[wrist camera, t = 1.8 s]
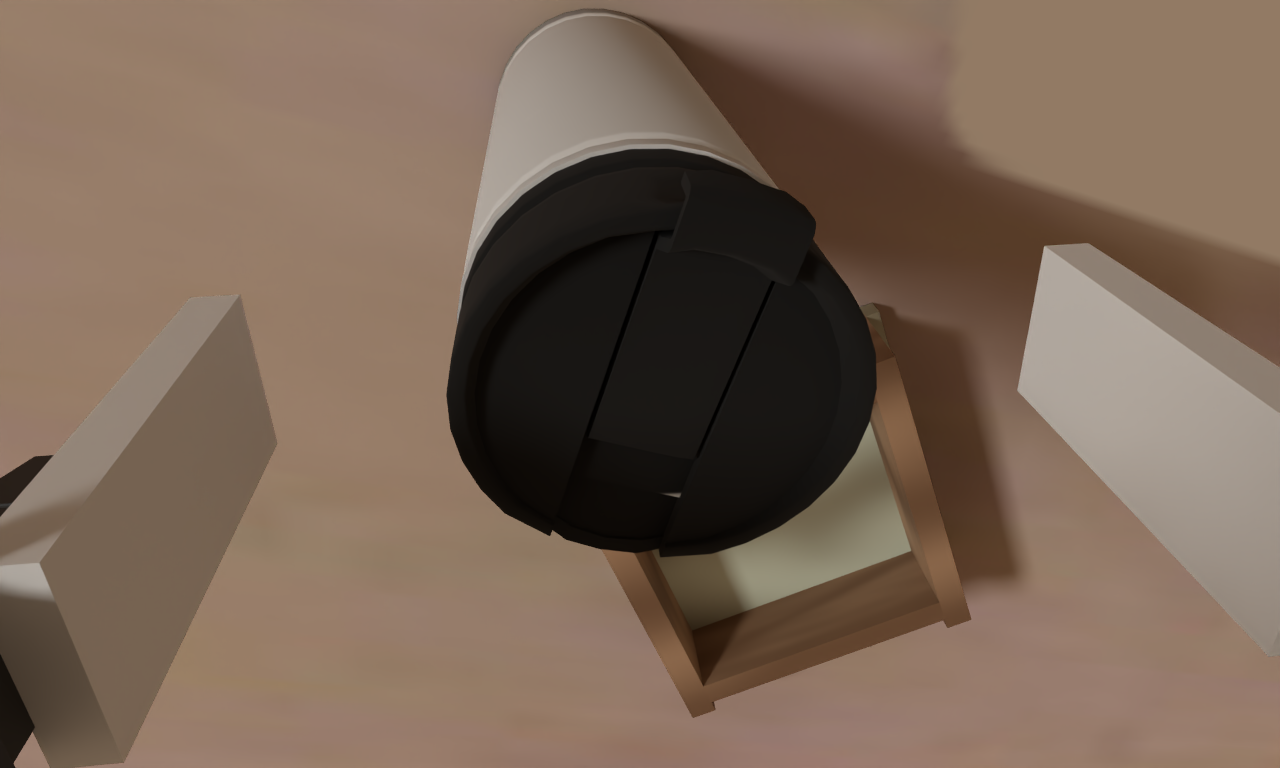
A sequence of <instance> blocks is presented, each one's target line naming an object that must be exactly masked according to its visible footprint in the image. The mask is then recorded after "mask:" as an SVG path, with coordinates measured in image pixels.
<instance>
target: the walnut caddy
mask: <svg viewBox="0 0 1280 768" xmlns="http://www.w3.org/2000/svg"><path fill="white" fill-rule="evenodd" d="M860 309H861V311H862V312H863V314H864V316H865V318H866V319H867V323H868V327H869V330H870V334H871V337H872V341H873V344H874V348H875V352H876V372H877V390H876V395H875V400H874V404H873V409H872V414H871V418H870V422H869V425H868V427H867V429H866V431H865V433H864V436H863V438H862V440H861V442H860V444H859V447H858V449H857V451H856V453H855V455H854V456H853V457H852V459H851V460H850V462H849V463H848V464H847V466H846V467H845V469H844V470H843V471H842V473H841V474H840V475H839V477H838V478H837V480H836V481H835V482H834V483H833V484H832V485H831V486H830V487H829V488H828V489H827V490H826V491H825V492H824V493H823V494H822V495H821V496H820V497H819V498H818V499H817V500H816V501H815V502H813V503H812V504H811V505H810V506H809V507H808V508H807V509H805V510H804V511H802V512H801V513H799V514H798V515H796V516H795V517H793V518H792V519H790V520H789V521H788V522H786V523H785V524H783V525H782V526H780V527H779V528H777V529H775V530H772V531H770V532H768V533H766V534H764V535H762V536H760V537H758V538H756V539H754V540H752V541H750V542H748V543H745V544H742V545H739V546H736V547H732V548H729V549H726V550H723V551H720V552H717V553H713V554H706V555H691V556H675V557H660V555H659V549H656V550H651V551H646V552H641V553H630V552H621V551H612V550H603V549H602V551H603V553H604V555H605V556H606V558H607V560H608V562H609V564H610V566H611V567H612V569H613V571H614V573H615V575H616V577H617V579H618V580H619V582H620V584H621V586H622V588H623V590H624V591H625V593H626V595H627V597H628V599H629V601H630V603H631V604H632V606H633V608H634V610H635V612H636V614H637V615H638V617H639V619H640V621H641V623H642V625H643V627H644V628H645V630H646V632H647V634H648V636H649V638H650V640H651V641H652V643H653V645H654V647H655V649H656V651H657V652H658V654H659V656H660V658H661V660H662V662H663V664H664V665H665V667H666V669H667V671H668V673H669V675H670V676H671V678H672V680H673V682H674V684H675V686H676V688H677V689H678V691H679V693H680V695H681V697H682V699H683V700H684V702H685V704H686V706H687V708H688V710H689V712H690V713H691V715H692V717H693V718H694V717H697V716H700V715H703V714H705V713H708V712H711V711H714V710H715V705H714V701H717V700H719V699H722V698H725V697H728V696H731V695H733V694H736V693H739V692H742V691H745V690H748V689H750V688H753V687H756V686H759V685H762V684H765V683H767V682H770V681H773V680H776V679H779V678H781V677H784V676H787V675H790V674H793V673H796V672H798V671H801V670H804V669H807V668H810V667H812V666H815V665H818V664H821V663H824V662H827V661H829V660H832V659H835V658H838V657H841V656H844V655H846V654H849V653H852V652H855V651H858V650H860V649H863V648H866V647H869V646H872V645H875V644H877V643H880V642H883V641H886V640H889V639H892V638H894V637H897V636H900V635H903V634H906V633H908V632H911V631H914V630H917V629H920V628H923V627H925V626H928V625H931V624H934V623H937V622H940V621H942V620H943V621H944V623H945V624H946V626H947V628H949V627H952V626H955V625H957V624H960V623H963V622H966V621H969V620H971V617H970V613H969V610H968V606H967V603H966V599H965V596H964V592H963V589H962V585H961V582H960V579H959V575H958V572H957V568H956V565H955V561H954V558H953V554H952V551H951V547H950V544H949V541H948V537H947V534H946V530H945V527H944V523H943V520H942V516H941V513H940V509H939V506H938V503H937V499H936V496H935V492H934V489H933V485H932V482H931V478H930V475H929V471H928V468H927V465H926V461H925V458H924V454H923V451H922V447H921V444H920V440H919V437H918V433H917V430H916V427H915V423H914V420H913V416H912V413H911V409H910V406H909V402H908V399H907V395H906V392H905V389H904V385H903V382H902V378H901V375H900V371H899V368H898V364H897V361H896V357H895V355H894V354H893V353H892V351H891V350H890V348H889V344H888V341H887V338H886V334H885V331H884V327H883V324H882V320H881V317H880V314H879V311H878V310H877V308H876V307H875V306H874V305H873V303H870V304H867V305H865V306H862V307H860Z"/></svg>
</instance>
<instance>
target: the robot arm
mask: <svg viewBox="0 0 1280 768" xmlns="http://www.w3.org/2000/svg"><path fill="white" fill-rule="evenodd" d="M1017 391H1018V392H1019V393H1020V394H1021V395H1022V396H1023V397H1024V398H1025V399H1026V400H1027V401H1028V402H1029V403H1030V404H1031V405H1032V407H1033V408H1034V409H1035V410H1036V411H1037V412H1038V413H1039V414H1040V415H1041V416H1042V417H1043V418H1044V419H1045V420H1046V421H1047V422H1048V423H1049V425H1050V426H1051V427H1052V428H1053V429H1054V430H1055V431H1056V432H1057V433H1058V434H1059V435H1060V436H1061V437H1062V438H1063V439H1064V440H1065V441H1066V443H1067V444H1068V445H1069V446H1070V447H1071V448H1072V449H1073V450H1074V451H1075V452H1076V453H1077V454H1078V455H1079V456H1080V457H1081V458H1082V459H1083V461H1084V462H1085V463H1086V464H1087V465H1088V466H1089V467H1090V468H1091V469H1092V470H1093V471H1094V472H1095V473H1096V474H1097V475H1098V476H1099V477H1100V479H1101V480H1102V481H1103V482H1104V483H1105V484H1106V485H1107V486H1108V487H1109V488H1110V489H1111V490H1112V491H1113V492H1114V493H1115V494H1116V495H1117V497H1118V498H1119V499H1120V500H1121V501H1122V502H1123V503H1124V504H1125V505H1126V506H1127V507H1128V508H1129V509H1130V510H1131V511H1132V512H1133V513H1134V515H1135V516H1136V517H1137V518H1138V519H1139V520H1140V521H1141V522H1142V523H1143V524H1144V525H1145V526H1146V527H1147V528H1148V529H1149V530H1150V531H1151V533H1152V534H1153V535H1154V536H1155V537H1156V538H1157V539H1158V540H1159V541H1160V542H1161V543H1162V544H1163V545H1164V546H1165V547H1166V548H1167V549H1168V551H1169V552H1170V553H1171V554H1172V555H1173V556H1174V557H1175V558H1176V559H1177V560H1178V561H1179V562H1180V563H1181V564H1182V565H1183V566H1184V567H1185V569H1186V570H1187V571H1188V572H1189V573H1190V574H1191V575H1192V576H1193V577H1194V578H1195V579H1196V580H1197V581H1198V582H1199V583H1200V584H1201V585H1202V586H1203V588H1204V589H1205V590H1206V591H1207V592H1208V593H1209V594H1210V595H1211V596H1212V597H1213V598H1214V599H1215V600H1216V601H1217V602H1218V603H1219V604H1220V606H1221V607H1222V608H1223V609H1224V610H1225V611H1226V612H1227V613H1228V614H1229V615H1230V616H1231V617H1232V618H1233V619H1234V620H1235V621H1236V622H1237V624H1238V625H1239V626H1240V627H1241V628H1242V629H1243V630H1244V631H1245V632H1246V633H1247V634H1248V635H1249V636H1250V637H1251V638H1252V639H1253V640H1254V642H1255V643H1256V644H1257V645H1258V646H1259V647H1260V648H1261V649H1262V650H1263V651H1264V652H1265V653H1266V654H1267V655H1268V656H1269V657H1270V656H1280V367H1278V366H1277V365H1275V364H1274V363H1272V362H1271V361H1269V360H1267V359H1266V358H1264V357H1263V356H1261V355H1260V354H1258V353H1257V352H1255V351H1254V350H1252V349H1251V348H1249V347H1247V346H1246V345H1244V344H1243V343H1241V342H1240V341H1238V340H1237V339H1235V338H1234V337H1232V336H1231V335H1229V334H1227V333H1226V332H1224V331H1223V330H1221V329H1220V328H1218V327H1217V326H1215V325H1214V324H1212V323H1211V322H1209V321H1207V320H1206V319H1204V318H1203V317H1201V316H1200V315H1198V314H1197V313H1195V312H1194V311H1192V310H1191V309H1189V308H1187V307H1186V306H1184V305H1183V304H1181V303H1180V302H1178V301H1177V300H1175V299H1174V298H1172V297H1171V296H1169V295H1167V294H1166V293H1164V292H1163V291H1161V290H1160V289H1158V288H1157V287H1155V286H1154V285H1152V284H1151V283H1149V282H1147V281H1146V280H1144V279H1143V278H1141V277H1140V276H1138V275H1137V274H1135V273H1134V272H1132V271H1131V270H1129V269H1127V268H1126V267H1124V266H1123V265H1121V264H1120V263H1118V262H1117V261H1115V260H1114V259H1112V258H1111V257H1109V256H1107V255H1106V254H1104V253H1103V252H1101V251H1100V250H1098V249H1097V248H1095V247H1094V246H1092V245H1091V244H1089V243H1083V244H1066V245H1049V246H1044V250H1043V256H1042V261H1041V266H1040V272H1039V277H1038V282H1037V288H1036V293H1035V299H1034V304H1033V309H1032V315H1031V320H1030V325H1029V331H1028V336H1027V342H1026V347H1025V352H1024V358H1023V363H1022V369H1021V374H1020V379H1019V385H1018V390H1017ZM276 445H277V439H276V435H275V431H274V427H273V423H272V419H271V415H270V411H269V407H268V403H267V399H266V395H265V392H264V388H263V384H262V380H261V376H260V372H259V368H258V364H257V360H256V356H255V352H254V348H253V344H252V340H251V336H250V332H249V328H248V324H247V320H246V316H245V312H244V308H243V304H242V300H241V296H240V295H224V296H207V297H191V298H189V300H188V301H187V302H186V303H185V304H184V305H183V307H182V308H181V309H180V310H179V311H178V312H177V313H176V315H175V316H174V317H173V318H172V319H171V320H170V322H169V323H168V324H167V325H166V326H165V327H164V328H163V330H162V331H161V332H160V333H159V334H158V335H157V337H156V338H155V339H154V340H153V341H152V342H151V343H150V345H149V346H148V347H147V348H146V349H145V350H144V352H143V353H142V354H141V355H140V356H139V357H138V358H137V360H136V361H135V362H134V363H133V364H132V365H131V367H130V368H129V369H128V370H127V371H126V372H125V374H124V375H123V376H122V377H121V378H120V379H119V380H118V382H117V383H116V384H115V385H114V386H113V387H112V389H111V390H110V391H109V392H108V393H107V394H106V395H105V397H104V398H103V399H102V400H101V401H100V402H99V404H98V405H97V406H96V407H95V408H94V409H93V410H92V412H91V413H90V414H89V415H88V416H87V417H86V419H85V420H84V421H83V422H82V423H81V424H80V425H79V427H78V428H77V429H76V430H75V431H74V432H73V434H72V435H71V436H70V437H69V438H68V439H67V441H66V442H65V443H64V444H63V445H62V446H61V447H60V449H59V450H58V451H57V452H56V453H55V454H54V455H49V456H35V457H33V458H32V459H30V460H28V461H27V462H25V463H24V464H22V465H21V466H19V467H17V468H16V469H14V470H13V471H11V472H9V473H8V474H6V475H5V476H3V477H2V478H0V768H15V766H14V764H13V763H14V761H15V760H16V758H17V756H18V755H19V753H20V751H21V750H22V748H23V746H24V745H25V743H26V741H27V740H28V738H29V737H30V735H31V733H32V732H33V733H34V735H35V737H36V739H37V741H38V743H39V746H40V748H41V750H42V752H43V754H44V756H45V758H46V760H47V762H48V764H49V766H50V768H72V767H83V766H93V765H104V764H115V763H124V761H125V759H126V757H127V755H128V753H129V751H130V749H131V747H132V745H133V743H134V741H135V739H136V736H137V734H138V732H139V730H140V728H141V726H142V724H143V722H144V720H145V718H146V716H147V714H148V712H149V709H150V707H151V705H152V703H153V701H154V699H155V697H156V695H157V693H158V691H159V689H160V687H161V684H162V682H163V680H164V678H165V676H166V674H167V672H168V670H169V668H170V666H171V664H172V662H173V660H174V657H175V655H176V653H177V651H178V649H179V647H180V645H181V643H182V641H183V639H184V637H185V635H186V632H187V630H188V628H189V626H190V624H191V622H192V620H193V618H194V616H195V614H196V612H197V610H198V607H199V605H200V603H201V601H202V599H203V597H204V595H205V593H206V591H207V589H208V587H209V585H210V583H211V580H212V578H213V576H214V574H215V572H216V570H217V568H218V566H219V564H220V562H221V560H222V558H223V555H224V553H225V551H226V549H227V547H228V545H229V543H230V541H231V539H232V537H233V535H234V533H235V531H236V528H237V526H238V524H239V522H240V520H241V518H242V516H243V514H244V512H245V510H246V508H247V506H248V503H249V501H250V499H251V497H252V495H253V493H254V491H255V489H256V487H257V485H258V483H259V481H260V479H261V476H262V474H263V472H264V470H265V468H266V466H267V464H268V462H269V460H270V458H271V456H272V454H273V451H274V449H275V447H276Z"/></svg>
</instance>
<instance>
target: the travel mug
mask: <svg viewBox="0 0 1280 768" xmlns="http://www.w3.org/2000/svg"><path fill="white" fill-rule="evenodd" d="M815 229H816V222H815V219H814V218H813V216H812V215H811V214H810V212H809V211H808V210H807V208H806V207H805V206H804V205H802V204H801V203H800V202H799V201H797V200H796V199H795V198H793V197H792V196H791V195H789V194H788V193H787V192H785V191H782V190H779V188H778V187H777V186H776V184H775V183H774V182H773V181H772V179H771V178H770V177H769V175H768V174H767V173H766V171H765V170H764V169H763V167H762V166H761V165H760V163H759V162H758V161H757V160H756V158H755V157H754V156H753V154H752V153H751V152H750V150H749V149H748V148H747V146H746V145H745V144H744V142H743V141H742V140H741V139H740V137H739V136H738V135H737V133H736V132H735V131H734V129H733V128H732V127H731V125H730V124H729V123H728V121H727V120H726V119H725V118H724V116H723V115H722V114H721V112H720V111H719V110H718V108H717V107H716V106H715V104H714V103H713V102H712V100H711V99H710V98H709V97H708V95H707V94H706V93H705V91H704V90H703V89H702V87H701V86H700V85H699V83H698V82H697V81H696V79H695V78H694V77H693V76H692V74H691V73H690V72H689V70H688V69H687V68H686V66H685V65H684V64H683V62H682V61H681V60H680V58H679V57H678V56H677V55H676V53H675V52H674V51H673V49H672V48H671V47H670V46H669V45H668V44H667V42H666V41H665V40H664V39H663V38H662V37H661V36H660V35H659V34H658V33H657V32H656V31H654V30H653V29H652V28H650V27H649V26H648V25H646V24H645V23H643V22H642V21H640V20H638V19H636V18H633V17H631V16H629V15H627V14H625V13H621V12H616V11H612V10H607V9H580V10H576V11H571V12H566V13H563V14H561V15H558V16H556V17H554V18H552V19H549V20H547V21H545V22H544V23H543V24H541V25H540V26H538V27H537V28H536V29H534V30H533V31H531V32H530V33H529V34H528V35H527V36H526V37H525V39H524V40H523V41H522V42H521V43H520V44H519V45H518V46H517V47H516V49H515V51H514V52H513V54H512V56H511V57H510V59H509V61H508V62H507V64H506V67H505V70H504V72H503V75H502V78H501V81H500V84H499V90H498V95H497V100H496V105H495V110H494V116H493V121H492V126H491V131H490V137H489V142H488V147H487V152H486V157H485V163H484V168H483V173H482V178H481V184H480V189H479V194H478V199H477V204H476V210H475V215H474V220H473V225H472V230H471V236H470V241H469V246H468V251H467V257H466V262H465V268H464V274H463V277H462V283H461V290H460V297H459V305H458V312H457V330H456V335H455V341H454V346H453V352H452V357H451V364H450V371H449V379H448V387H447V394H446V395H447V404H448V412H449V421H450V429H451V432H452V435H453V437H454V440H455V443H456V446H457V448H458V451H459V454H460V456H461V459H462V461H463V463H464V464H465V466H466V468H467V469H468V471H469V472H470V474H471V475H472V477H473V478H474V480H475V481H476V483H477V484H478V486H479V487H480V489H481V490H482V491H483V492H484V493H485V494H486V495H487V496H488V497H489V498H490V499H491V500H492V501H493V502H494V503H495V504H496V505H497V506H498V507H499V508H500V509H501V510H502V511H503V512H504V513H505V514H507V515H509V516H511V517H513V518H515V519H517V520H519V521H521V522H523V523H525V524H527V525H529V526H531V527H533V528H535V529H537V530H539V531H541V532H543V533H545V534H547V535H549V536H550V535H551V532H552V530H553V531H555V532H556V533H558V534H559V535H560V536H562V537H563V538H565V539H566V540H569V541H573V542H576V543H580V544H584V545H587V546H591V547H595V548H598V549H603V550H612V551H621V552H630V553H641V552H646V551H651V550H656V549H659V555H660V557H675V556H691V555H706V554H713V553H717V552H720V551H723V550H726V549H729V548H732V547H736V546H739V545H742V544H745V543H748V542H750V541H752V540H754V539H756V538H758V537H760V536H762V535H764V534H766V533H768V532H770V531H772V530H775V529H777V528H779V527H780V526H782V525H783V524H785V523H786V522H788V521H789V520H790V519H792V518H793V517H795V516H796V515H798V514H799V513H801V512H802V511H804V510H805V509H807V508H808V507H809V506H810V505H811V504H812V503H813V502H815V501H816V500H817V499H818V498H819V497H820V496H821V495H822V494H823V493H824V492H825V491H826V490H827V489H828V488H829V487H830V486H831V485H832V484H833V483H834V482H835V481H836V480H837V478H838V477H839V475H840V474H841V473H842V471H843V470H844V469H845V467H846V466H847V464H848V463H849V462H850V460H851V459H852V457H853V456H854V455H855V453H856V451H857V449H858V447H859V444H860V442H861V440H862V438H863V436H864V433H865V431H866V429H867V427H868V425H869V422H870V418H871V414H872V409H873V404H874V400H875V395H876V390H877V372H876V352H875V348H874V344H873V341H872V337H871V334H870V330H869V327H868V323H867V319H866V318H865V316H864V314H863V312H862V311H861V309H860V307H859V305H858V304H857V302H856V300H855V298H854V297H853V295H852V293H851V291H850V290H849V288H848V286H847V285H846V284H845V282H844V281H843V280H842V278H841V277H840V276H839V275H838V273H837V272H836V271H835V269H834V268H833V266H832V265H831V264H830V262H829V261H828V260H827V258H826V257H825V256H824V254H823V253H822V252H821V250H820V249H819V247H818V246H817V245H816V243H815V242H814V241H813V237H814V234H815Z"/></svg>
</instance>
